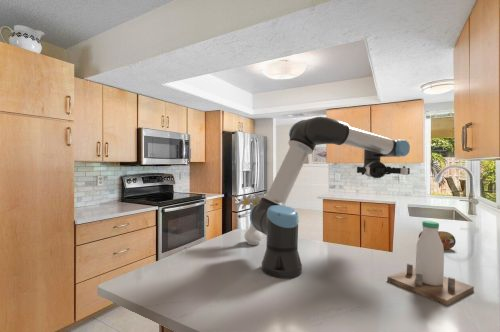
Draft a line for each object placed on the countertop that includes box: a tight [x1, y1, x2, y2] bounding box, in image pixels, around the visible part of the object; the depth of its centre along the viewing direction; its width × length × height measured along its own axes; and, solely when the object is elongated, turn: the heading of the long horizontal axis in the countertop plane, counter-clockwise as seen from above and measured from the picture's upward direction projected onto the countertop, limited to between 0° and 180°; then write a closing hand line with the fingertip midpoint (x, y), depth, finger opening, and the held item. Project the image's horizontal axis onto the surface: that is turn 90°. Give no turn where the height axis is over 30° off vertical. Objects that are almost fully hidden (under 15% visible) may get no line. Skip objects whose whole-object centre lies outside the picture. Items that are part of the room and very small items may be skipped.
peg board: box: [386, 263, 475, 306], centre depth 89 cm, size 18×18×5 cm
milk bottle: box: [415, 220, 445, 286], centre depth 89 cm, size 8×8×20 cm
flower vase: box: [234, 192, 268, 246], centre depth 132 cm, size 13×18×25 cm
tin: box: [418, 230, 456, 250], centre depth 131 cm, size 15×3×8 cm, turn 69°
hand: (387, 171), depth 104 cm, fingers open, 13 cm apart
